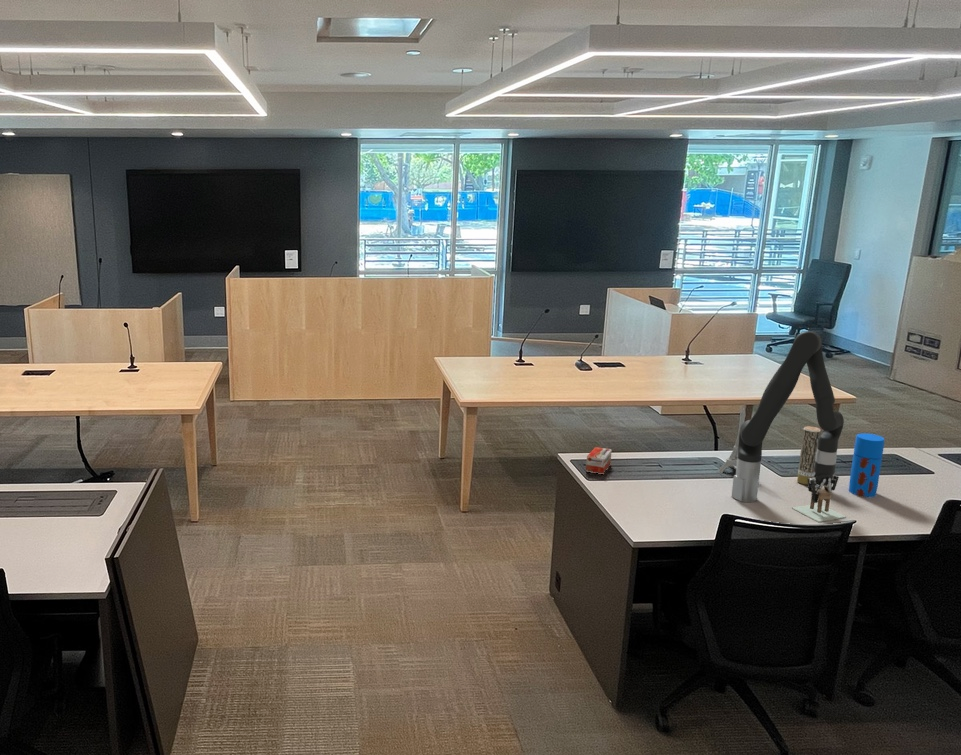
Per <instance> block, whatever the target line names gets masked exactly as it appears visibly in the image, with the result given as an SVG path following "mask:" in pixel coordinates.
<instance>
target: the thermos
mask: <svg viewBox="0 0 961 755" xmlns="http://www.w3.org/2000/svg"><path fill="white" fill-rule="evenodd" d="M884 448H885V438H884V437H883V436H881V435H878V434H874V433H868V432H867V433H858V434H856V436H855V442H854V449H853V455H852V462H851V470H850V474H849V475H850V476H849V484H848V491H849V493H850V494H852V495H854V496H857V497H861V498H873V497H876V495H877V491H878V486H879V485H878V484H879V480H880V474H881V473H880V472H881V467H882V460H883V459H882V458H883V453H884Z"/></svg>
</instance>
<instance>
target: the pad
mask: <svg viewBox="0 0 961 755" xmlns="http://www.w3.org/2000/svg"><path fill="white" fill-rule="evenodd" d="M817 505H818V503H814V509H810V504H806V505H800V506H799V505H798V506H795V507H794V506H793V507H792V508H791V509H792V510H794V511H796V512H797V513H800V514H802V515H804V516H805V517H808V518H809V519H811V520H813V521H815V522H817V523H822V522H829V521H835V520H839V519H841V520H842V519H846V518H847V516H846V515H843V514H842V513H840V512H838V511H835V510H833V509H831V508H829V511H828V512H826V511H825V505H824V504H822V509H821V513H818V512H817V509H818V507H817Z"/></svg>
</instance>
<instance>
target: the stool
mask: <svg viewBox="0 0 961 755" xmlns="http://www.w3.org/2000/svg"><path fill="white" fill-rule="evenodd" d="M816 490H817V488H816ZM818 494H819V495H818V502H817V504H818V505H817V507H818V509H817V512H818V513H821V509H822V505H823V501H825V499H826V501H825V505H824V506H825V511H826V512H828V511H829V509H830V502H831V498H832V491H831V492H829V491H827V490H825V489H824V487H822V489H820V491H819V493H818ZM814 504H815V503H814V502H813V501H812V493H811V494H810V504H809V505H810V509H814Z"/></svg>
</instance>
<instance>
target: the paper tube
mask: <svg viewBox="0 0 961 755" xmlns="http://www.w3.org/2000/svg"><path fill="white" fill-rule="evenodd" d="M821 430H822V428H819V427H815V426H808V425H807V426H804V427H803V430H802V431H803V432H802V440H801V447H800V448H801V449H800V457H799V464H798V469H797V470H798V472H797V482H798V483H799V484H801V485H805V486H808V478H813V477H814V475H815V471H814V465H815V458H816V452H817V448H818V441H819V437H820V436H821Z"/></svg>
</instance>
